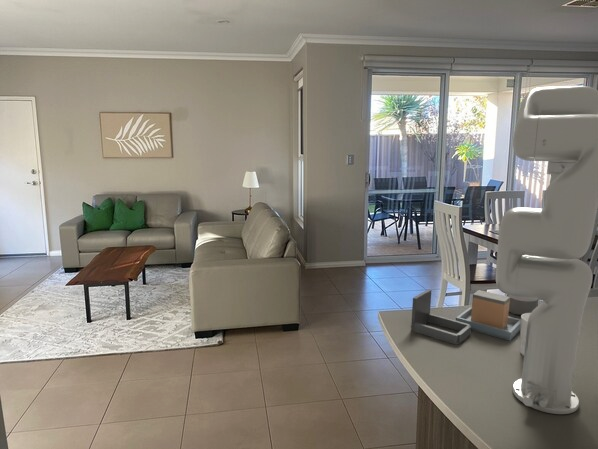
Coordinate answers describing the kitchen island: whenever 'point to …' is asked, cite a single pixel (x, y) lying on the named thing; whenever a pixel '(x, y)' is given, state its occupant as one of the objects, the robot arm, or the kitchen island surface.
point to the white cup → (523, 331)
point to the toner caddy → (490, 309)
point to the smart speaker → (521, 305)
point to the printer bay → (435, 321)
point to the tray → (506, 333)
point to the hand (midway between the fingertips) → (555, 231)
